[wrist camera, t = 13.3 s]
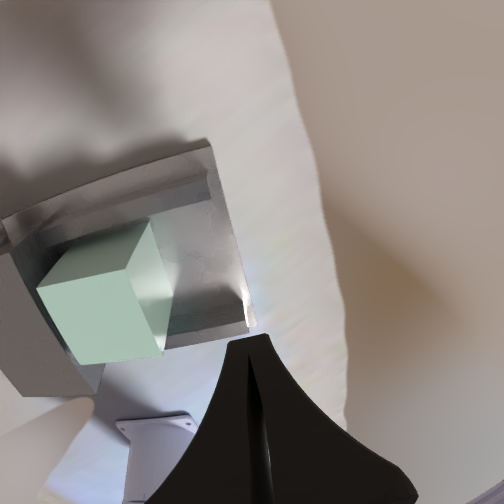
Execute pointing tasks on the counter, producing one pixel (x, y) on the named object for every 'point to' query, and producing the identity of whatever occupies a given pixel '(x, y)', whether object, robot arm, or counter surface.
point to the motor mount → (105, 220)
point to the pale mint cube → (110, 296)
